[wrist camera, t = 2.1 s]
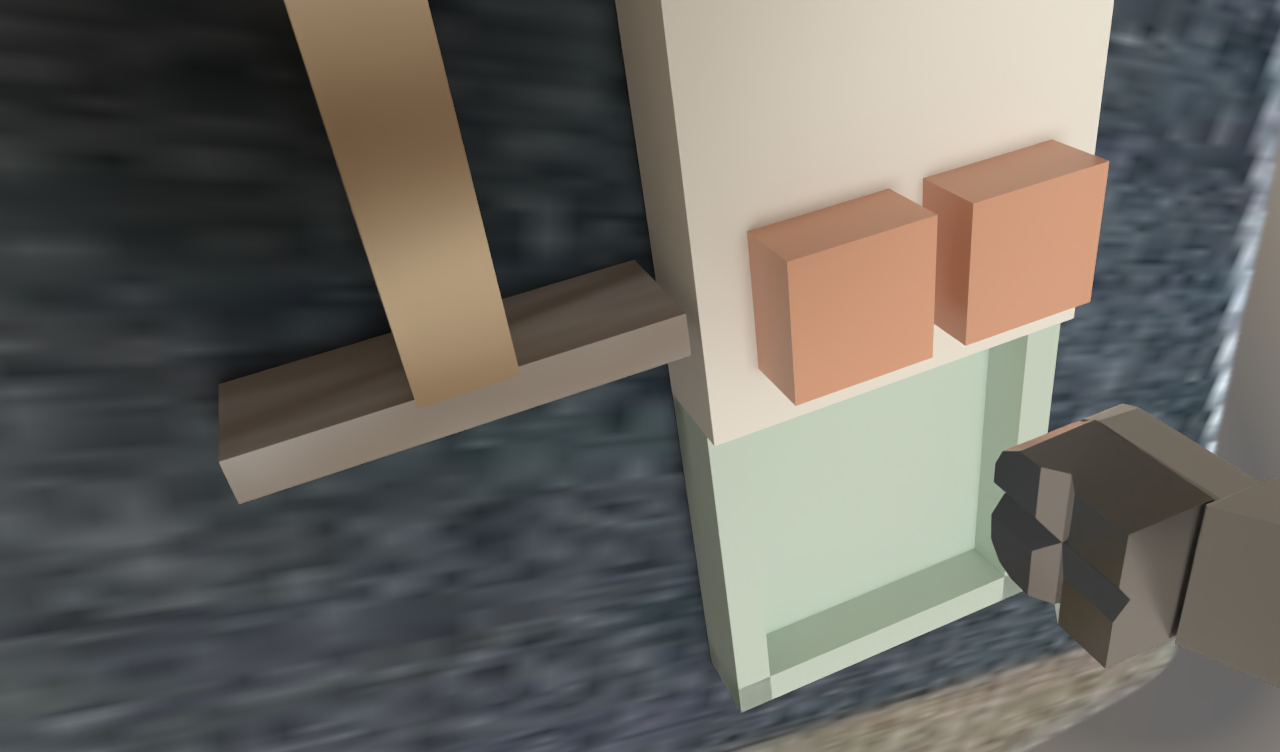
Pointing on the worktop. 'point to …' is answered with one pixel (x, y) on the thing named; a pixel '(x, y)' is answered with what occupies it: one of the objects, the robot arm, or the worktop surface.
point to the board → (828, 143)
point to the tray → (858, 517)
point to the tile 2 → (1015, 238)
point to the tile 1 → (843, 293)
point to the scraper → (423, 279)
